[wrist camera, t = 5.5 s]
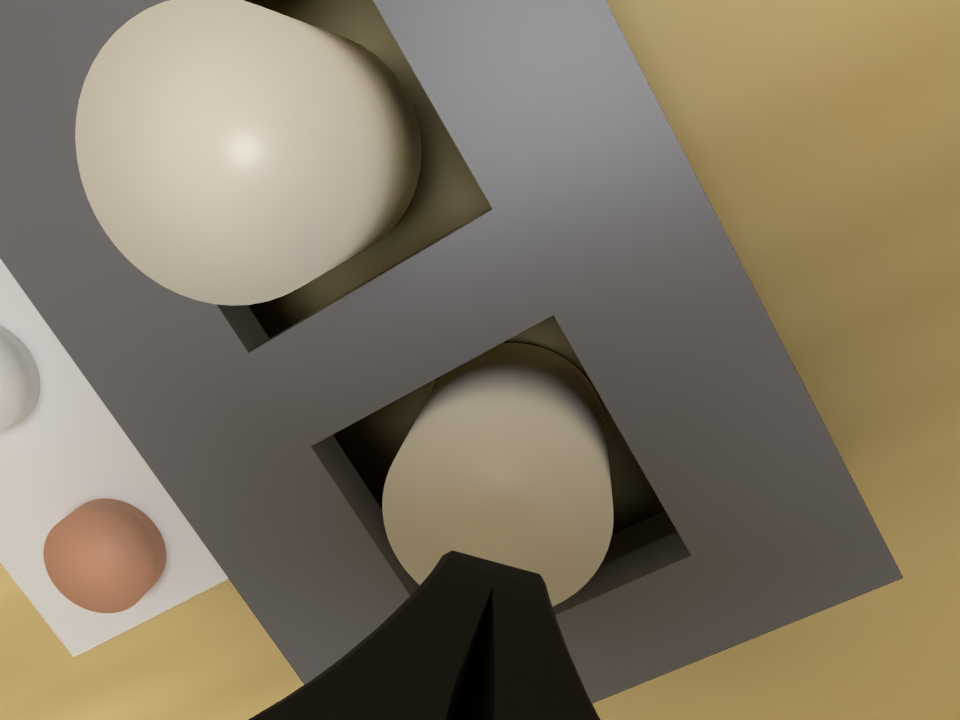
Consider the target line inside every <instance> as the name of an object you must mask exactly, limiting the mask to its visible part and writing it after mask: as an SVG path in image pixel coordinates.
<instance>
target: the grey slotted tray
mask: <svg viewBox="0 0 960 720" xmlns="http://www.w3.org/2000/svg"><path fill="white" fill-rule="evenodd" d="M164 1H168V0H0V259H1V260H2V262H3V263H4V264H5V266H6V267H7V269H8V270H9V271H10V273H11V274H12V276H13V277H14V278H15V280H16V281H17V283H18V284H19V285H20V287H21V288H22V290H23V291H24V292H25V294H26V295H27V297H28V298H29V299H30V301H31V302H32V304H33V305H34V306H35V308H36V309H37V311H38V312H39V313H40V315H41V316H42V318H43V319H44V320H45V322H46V323H47V325H48V326H49V327H50V329H51V330H52V332H53V333H54V334H55V336H56V337H57V339H58V340H59V341H60V343H61V344H62V346H63V347H64V348H65V350H66V351H67V353H68V354H69V355H70V357H71V358H72V360H73V361H74V362H75V364H76V365H77V367H78V368H79V369H80V371H81V372H82V374H83V375H84V376H85V378H86V379H87V381H88V382H89V383H90V385H91V386H92V388H93V389H94V390H95V392H96V393H97V395H98V396H99V397H100V399H101V400H102V402H103V403H104V404H105V406H106V407H107V409H108V410H109V411H110V413H111V414H112V416H113V417H114V419H115V420H116V421H117V423H118V424H119V426H120V427H121V428H122V430H123V431H124V433H125V434H126V435H127V437H128V438H129V440H130V441H131V442H132V444H133V445H134V447H135V448H136V449H137V451H138V452H139V454H140V455H141V456H142V458H143V459H144V461H145V462H146V463H147V465H148V466H149V468H150V469H151V470H152V472H153V473H154V475H155V476H156V477H157V479H158V480H159V482H160V483H161V484H162V486H163V487H164V489H165V490H166V491H167V493H168V494H169V496H170V497H171V498H172V500H173V501H174V503H175V504H176V505H177V507H178V508H179V510H180V511H181V512H182V514H183V515H184V517H185V518H186V519H187V521H188V522H189V524H190V525H191V526H192V528H193V529H194V531H195V532H196V533H197V535H198V536H199V538H200V539H201V540H202V542H203V543H204V545H205V546H206V547H207V549H208V550H209V552H210V553H211V554H212V556H213V557H214V559H215V560H216V561H217V563H218V564H219V566H220V567H221V568H222V570H223V571H224V573H225V574H226V575H227V577H228V578H229V580H230V581H231V582H232V584H233V585H234V587H235V588H236V589H237V591H238V592H239V594H240V595H241V596H242V598H243V599H244V601H245V602H246V603H247V605H248V606H249V608H250V609H251V611H252V612H253V613H254V615H255V616H256V618H257V619H258V620H259V622H260V623H261V625H262V626H263V627H264V629H265V630H266V632H267V633H268V634H269V636H270V637H271V639H272V640H273V641H274V643H275V644H276V646H277V647H278V648H279V650H280V651H281V653H282V654H283V655H284V657H285V658H286V660H287V661H288V662H289V664H290V665H291V667H292V668H293V669H294V671H295V672H296V674H297V675H298V676H299V678H300V679H301V681H302V682H303V683H304V685H305V684H307V683H308V682H310V681H311V680H312V679H314V678H315V677H317V676H318V675H319V674H321V673H322V672H324V671H325V670H326V669H328V668H329V667H330V666H332V665H333V664H334V663H336V662H337V661H338V660H340V659H341V658H342V657H343V656H344V655H346V654H347V653H348V652H349V651H350V650H352V649H353V648H354V647H355V646H356V645H358V644H359V643H360V642H361V641H362V640H364V639H365V638H366V637H367V636H368V635H370V634H371V633H372V632H373V631H374V630H376V629H377V628H378V627H379V626H380V625H381V624H382V623H383V622H384V621H385V620H386V619H387V618H388V617H389V616H390V615H391V614H392V613H394V612H395V611H396V610H397V609H398V608H399V607H400V606H401V605H402V604H403V603H404V602H405V601H406V600H407V599H408V598H409V597H410V596H411V595H412V593H413V592H414V591H415V590H416V589H417V588H418V587H419V586H420V585H419V584H418V583H417V582H416V581H415V580H414V579H413V578H412V577H411V576H410V575H409V574H408V573H407V571H406V570H405V569H404V567H403V566H402V565H401V563H400V562H399V560H398V558H397V557H396V555H395V553H394V552H393V550H392V547H391V545H390V542H389V540H388V538H387V534H386V530H385V526H384V521H383V513H382V509H381V508H380V506H379V505H378V503H377V502H376V500H375V499H374V497H373V496H372V494H371V493H370V491H369V490H368V488H367V486H366V485H365V483H364V482H363V480H362V479H361V477H360V476H359V474H358V473H357V471H356V470H355V468H354V467H353V465H352V464H351V462H350V461H349V459H348V457H347V456H346V454H345V453H344V451H343V450H342V448H341V447H340V445H339V444H338V442H337V441H336V439H335V438H334V436H333V434H335V433H336V432H338V431H340V430H342V429H344V428H346V427H348V426H349V425H351V424H353V423H355V422H357V421H359V420H360V419H362V418H364V417H366V416H368V415H370V414H372V413H373V412H375V411H377V410H379V409H381V408H383V407H385V406H386V405H388V404H390V403H392V402H394V401H396V400H397V399H399V398H401V397H403V396H405V395H407V394H409V393H410V392H412V391H414V390H416V389H418V388H420V387H422V386H423V385H425V384H427V383H429V382H431V381H433V380H434V379H436V378H438V377H440V376H442V375H444V374H446V373H447V372H449V371H451V370H453V369H455V368H457V367H458V366H460V365H462V364H464V363H466V362H468V361H470V360H471V359H473V358H475V357H477V356H479V355H481V354H483V353H484V352H486V351H488V350H490V349H492V348H494V347H495V346H497V345H499V344H501V343H503V342H505V341H507V340H508V339H510V338H512V337H514V336H516V335H518V334H519V333H521V332H523V331H525V330H527V329H529V328H531V327H532V326H534V325H536V324H538V323H540V322H542V321H544V320H545V319H547V318H549V317H551V316H553V315H554V317H555V319H556V321H557V322H558V324H559V326H560V328H561V329H562V331H563V333H564V335H565V336H566V338H567V340H568V342H569V343H570V345H571V347H572V349H573V350H574V352H575V354H576V355H577V357H578V359H579V361H580V362H581V364H582V366H583V368H584V369H585V371H586V373H587V375H588V376H589V378H590V380H591V382H592V383H593V385H594V387H595V389H596V390H597V392H598V394H599V396H600V397H601V399H602V401H603V403H604V404H605V406H606V408H607V410H608V411H609V413H610V415H611V416H612V418H613V420H614V422H615V423H616V425H617V427H618V429H619V430H620V432H621V434H622V436H623V437H624V439H625V441H626V443H627V444H628V446H629V448H630V450H631V451H632V453H633V455H634V457H635V458H636V460H637V462H638V464H639V465H640V467H641V469H642V471H643V472H644V474H645V476H646V478H647V479H648V481H649V483H650V484H651V486H652V488H653V490H654V491H655V493H656V495H657V497H658V498H659V500H660V502H661V504H662V505H663V507H664V509H665V511H663V512H661V513H659V514H656V515H654V516H652V517H650V518H648V519H646V520H643V521H641V522H639V523H637V524H635V525H632V526H630V527H628V528H626V529H624V530H621V531H619V532H617V533H615V534H613V535H612V537H611V540H610V544H609V548H608V550H607V553H606V555H605V557H604V560H603V561H602V563H601V565H600V566H599V568H598V570H597V571H596V573H595V574H594V575H593V576H592V577H591V579H590V580H589V581H588V582H587V583H586V584H585V585H584V586H583V587H582V588H581V589H580V590H579V591H578V592H576V593H575V594H573V595H572V596H571V597H569V598H568V599H566V600H565V601H563V602H561V603H559V604H557V605H555V606H553V610H554V613H555V616H556V619H557V622H558V625H559V627H560V630H561V633H562V636H563V638H564V641H565V643H566V646H567V649H568V651H569V654H570V656H571V658H572V660H573V663H574V665H575V667H576V670H577V672H578V674H579V676H580V679H581V681H582V683H583V686H584V688H585V690H586V692H587V694H588V696H589V698H590V701H591V703H594V702H597V701H599V700H602V699H604V698H607V697H609V696H612V695H614V694H617V693H619V692H622V691H624V690H626V689H629V688H631V687H634V686H636V685H639V684H641V683H644V682H646V681H649V680H651V679H654V678H656V677H659V676H661V675H664V674H666V673H669V672H671V671H674V670H676V669H679V668H681V667H684V666H686V665H688V664H691V663H693V662H696V661H698V660H701V659H703V658H706V657H708V656H711V655H713V654H716V653H718V652H721V651H723V650H726V649H728V648H731V647H733V646H736V645H738V644H741V643H743V642H746V641H748V640H750V639H753V638H755V637H758V636H760V635H763V634H765V633H768V632H770V631H773V630H775V629H778V628H780V627H783V626H785V625H788V624H790V623H793V622H795V621H798V620H800V619H803V618H805V617H808V616H810V615H812V614H815V613H817V612H820V611H822V610H825V609H827V608H830V607H832V606H835V605H837V604H840V603H842V602H845V601H847V600H850V599H852V598H855V597H857V596H860V595H862V594H865V593H867V592H870V591H872V590H874V589H877V588H879V587H882V586H884V585H887V584H889V583H892V582H894V581H897V580H899V579H902V578H903V576H902V574H901V573H900V571H899V569H898V567H897V565H896V563H895V561H894V559H893V557H892V555H891V553H890V551H889V549H888V547H887V545H886V543H885V541H884V540H883V538H882V536H881V534H880V532H879V530H878V528H877V526H876V524H875V522H874V520H873V518H872V516H871V514H870V512H869V510H868V508H867V507H866V505H865V503H864V501H863V499H862V497H861V495H860V493H859V491H858V489H857V487H856V485H855V483H854V481H853V479H852V477H851V475H850V474H849V472H848V470H847V468H846V466H845V464H844V462H843V460H842V458H841V456H840V454H839V452H838V450H837V448H836V446H835V444H834V442H833V441H832V439H831V437H830V435H829V433H828V431H827V429H826V427H825V425H824V423H823V421H822V419H821V417H820V415H819V413H818V411H817V409H816V408H815V406H814V404H813V402H812V400H811V398H810V396H809V394H808V392H807V390H806V388H805V386H804V384H803V382H802V380H801V378H800V376H799V375H798V373H797V371H796V369H795V367H794V365H793V363H792V361H791V359H790V357H789V355H788V353H787V351H786V349H785V347H784V345H783V343H782V342H781V340H780V338H779V336H778V334H777V332H776V330H775V328H774V326H773V324H772V322H771V320H770V318H769V316H768V314H767V312H766V310H765V309H764V307H763V305H762V303H761V301H760V299H759V297H758V295H757V293H756V291H755V289H754V287H753V285H752V283H751V281H750V279H749V277H748V276H747V274H746V272H745V270H744V268H743V266H742V264H741V262H740V260H739V258H738V256H737V254H736V252H735V250H734V248H733V246H732V244H731V243H730V241H729V239H728V237H727V235H726V233H725V231H724V229H723V227H722V225H721V223H720V221H719V219H718V217H717V215H716V213H715V211H714V210H713V208H712V206H711V204H710V202H709V200H708V198H707V196H706V194H705V192H704V190H703V188H702V186H701V184H700V182H699V180H698V178H697V177H696V175H695V173H694V171H693V169H692V167H691V165H690V163H689V161H688V159H687V157H686V155H685V153H684V151H683V149H682V147H681V145H680V144H679V142H678V140H677V138H676V136H675V134H674V132H673V130H672V128H671V126H670V124H669V122H668V120H667V118H666V116H665V114H664V113H663V111H662V109H661V107H660V105H659V103H658V101H657V99H656V97H655V95H654V93H653V91H652V89H651V87H650V85H649V83H648V81H647V80H646V78H645V76H644V74H643V72H642V70H641V68H640V66H639V64H638V62H637V60H636V58H635V56H634V54H633V52H632V50H631V48H630V47H629V45H628V43H627V41H626V39H625V37H624V35H623V33H622V31H621V29H620V27H619V25H618V23H617V21H616V19H615V17H614V15H613V14H612V12H611V10H610V8H609V6H608V4H607V2H606V0H373V2H374V3H375V5H376V7H377V9H378V10H379V12H380V14H381V16H382V17H383V19H384V21H385V23H386V24H387V26H388V28H389V30H390V31H391V33H392V35H393V37H394V38H395V40H396V42H397V43H398V45H399V47H400V49H401V50H402V52H403V54H404V56H405V57H406V59H407V61H408V63H409V64H410V66H411V68H412V70H413V71H414V73H415V75H416V77H417V78H418V80H419V82H420V84H421V85H422V87H423V89H424V91H425V92H426V94H427V96H428V98H429V99H430V101H431V103H432V104H433V106H434V108H435V110H436V111H437V113H438V115H439V117H440V118H441V120H442V122H443V124H444V125H445V127H446V129H447V131H448V132H449V134H450V136H451V138H452V139H453V141H454V143H455V145H456V146H457V148H458V150H459V152H460V153H461V155H462V157H463V159H464V160H465V162H466V164H467V166H468V167H469V169H470V171H471V172H472V174H473V176H474V178H475V179H476V181H477V183H478V185H479V186H480V188H481V190H482V192H483V193H484V195H485V197H486V199H487V200H488V202H489V204H490V206H491V207H492V208H490V209H488V210H487V211H485V212H483V213H481V214H480V215H478V216H476V217H475V218H473V219H471V220H470V221H468V222H466V223H464V224H463V225H461V226H459V227H458V228H456V229H454V230H453V231H451V232H449V233H448V234H446V235H444V236H442V237H441V238H439V239H437V240H436V241H434V242H432V243H431V244H429V245H427V246H426V247H424V248H422V249H420V250H419V251H417V252H415V253H414V254H412V255H410V256H409V257H407V258H405V259H403V260H402V261H400V262H398V263H397V264H395V265H393V266H392V267H390V268H388V269H387V270H385V271H383V272H381V273H380V274H378V275H376V276H375V277H373V278H371V279H370V280H368V281H366V282H364V283H363V284H361V285H359V286H358V287H356V288H354V289H353V290H351V291H349V292H348V293H346V294H344V295H342V296H341V297H339V298H337V299H336V300H334V301H332V302H331V303H329V304H327V305H326V306H324V307H322V308H320V309H319V310H317V311H315V312H314V313H312V314H310V315H309V316H307V317H305V318H303V319H302V320H300V321H298V322H297V323H295V324H293V325H292V326H290V327H288V328H287V329H285V330H283V331H281V332H280V333H278V334H276V335H275V336H273V337H271V338H269V337H268V335H267V334H266V332H265V331H264V329H263V328H262V326H261V325H260V323H259V322H258V320H257V319H256V317H255V316H254V314H253V313H252V311H251V309H250V308H249V306H248V305H236V306H230V305H218V304H211V303H206V302H202V301H197V300H194V299H191V298H188V297H185V296H183V295H180V294H178V293H175V292H173V291H171V290H169V289H167V288H165V287H163V286H162V285H160V284H158V283H157V282H155V281H154V280H152V279H151V278H149V277H148V276H146V275H145V274H144V273H143V272H141V271H140V270H139V269H138V268H137V267H135V266H134V265H133V264H132V263H131V262H130V261H129V260H128V259H127V258H126V257H125V256H124V255H123V254H122V253H121V252H120V251H119V250H118V249H117V247H116V246H115V245H114V243H113V242H112V241H111V239H110V238H109V237H108V236H107V234H106V233H105V231H104V229H103V228H102V226H101V224H100V223H99V221H98V219H97V218H96V216H95V214H94V212H93V210H92V207H91V205H90V203H89V201H88V199H87V196H86V193H85V190H84V187H83V184H82V181H81V177H80V172H79V167H78V162H77V155H76V144H75V128H76V115H77V108H78V102H79V98H80V94H81V91H82V87H83V84H84V81H85V79H86V76H87V74H88V72H89V70H90V67H91V65H92V63H93V61H94V60H95V58H96V57H97V55H98V53H99V52H100V50H101V49H102V47H103V46H104V45H105V44H106V42H107V41H108V40H109V39H110V38H111V36H112V35H113V34H114V33H115V32H116V31H117V30H118V29H119V28H121V27H122V26H123V25H124V24H125V23H126V22H127V21H129V20H130V19H131V18H133V17H135V16H136V15H138V14H139V13H141V12H142V11H144V10H146V9H148V8H150V7H152V6H155V5H157V4H159V3H162V2H164ZM244 1H247V0H244Z"/></svg>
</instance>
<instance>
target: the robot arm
mask: <svg viewBox="0 0 960 720" xmlns="http://www.w3.org/2000/svg"><path fill="white" fill-rule="evenodd" d="M249 720H600V719H599V717H598V715H597V713H596V711H595V709H594V707H593V705H592V703H591V701H590V698H589V696H588V694H587V692H586V690H585V688H584V686H583V683H582V681H581V679H580V676H579V674H578V672H577V670H576V667H575V665H574V663H573V660H572V658H571V656H570V654H569V651H568V649H567V646H566V643H565V641H564V638H563V636H562V633H561V630H560V627H559V625H558V622H557V619H556V616H555V613H554V610H553V607H552V604H551V601H550V598H549V594H548V591H547V587H546V583H545V582H544V580H543V578H542V576H541V575H540V574H538V573H534V572H530V571H527V570H523V569H519V568H516V567H512V566H508V565H505V564H501V563H497V562H493V561H490V560H486V559H482V558H479V557H475V556H471V555H468V554H464V553H460V552H457V551H453V550H452V551H450V552H448V553H446V554H444V555H442V556H441V558H440V560H439V562H438V563H437V565H436V566H435V567H434V569H433V570H432V571H431V573H430V574H429V575H428V576H427V578H426V579H425V580H424V581H423V582H422V584H421V585H420V586H419V587H418V588H417V589H416V590H415V591H414V592H413V593H412V595H411V596H410V597H409V598H408V599H407V600H406V601H405V602H404V603H403V604H402V605H401V606H400V607H399V608H398V609H397V610H396V611H395V612H394V613H392V614H391V615H390V616H389V617H388V618H387V619H386V620H385V621H384V622H383V623H382V624H381V625H380V626H379V627H378V628H377V629H376V630H374V631H373V632H372V633H371V634H370V635H368V636H367V637H366V638H365V639H364V640H362V641H361V642H360V643H359V644H358V645H356V646H355V647H354V648H353V649H352V650H350V651H349V652H348V653H347V654H346V655H344V656H343V657H342V658H341V659H340V660H338V661H337V662H336V663H334V664H333V665H332V666H330V667H329V668H328V669H326V670H325V671H324V672H322V673H321V674H319V675H318V676H317V677H315V678H314V679H312V680H311V681H310V682H308V683H307V684H305V685H304V686H302V687H301V688H299V689H298V690H296V691H295V692H293V693H292V694H290V695H289V696H287V697H286V698H284V699H282V700H281V701H279V702H277V703H276V704H274V705H272V706H271V707H269V708H267V709H266V710H264V711H262V712H260V713H259V714H257V715H255V716H254V717H252V718H250V719H249Z"/></svg>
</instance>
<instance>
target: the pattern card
mask: <svg viewBox="0 0 960 720" xmlns="http://www.w3.org/2000/svg"><path fill="white" fill-rule="evenodd" d="M0 563H1V564H2V565H3V567H4V568H5V569H6V571H7V572H8V573H9V574H10V576H11V577H12V578H13V580H14V581H15V582H16V584H17V585H18V586H19V587H20V589H21V590H22V591H23V593H24V594H25V595H26V596H27V598H28V599H29V600H30V602H31V603H32V604H33V605H34V607H35V608H36V609H37V611H38V612H39V613H40V614H41V616H42V617H43V618H44V620H45V621H46V622H47V623H48V625H49V626H50V627H51V629H52V630H53V631H54V632H55V634H56V635H57V636H58V638H59V639H60V640H61V641H62V643H63V644H64V645H65V647H66V648H67V649H68V650H69V652H70V653H71V654H72V656H73V657H75V656H77V655H79V654H81V653H83V652H85V651H87V650H89V649H91V648H93V647H95V646H97V645H99V644H101V643H103V642H105V641H107V640H109V639H111V638H113V637H115V636H117V635H119V634H121V633H123V632H125V631H127V630H129V629H131V628H132V627H134V626H136V625H138V624H140V623H142V622H144V621H146V620H148V619H150V618H152V617H154V616H156V615H158V614H160V613H162V612H164V611H166V610H168V609H170V608H172V607H174V606H176V605H178V604H180V603H182V602H184V601H186V600H188V599H190V598H192V597H194V596H196V595H198V594H200V593H201V592H203V591H205V590H207V589H209V588H211V587H213V586H215V585H217V584H219V583H221V582H223V581H225V580H227V579H229V578H228V577H227V575H226V574H225V573H224V571H223V570H222V568H221V567H220V566H219V564H218V563H217V561H216V560H215V559H214V557H213V556H212V554H211V553H210V552H209V550H208V549H207V547H206V546H205V545H204V543H203V542H202V540H201V539H200V538H199V536H198V535H197V533H196V532H195V531H194V529H193V528H192V526H191V525H190V524H189V522H188V521H187V519H186V518H185V517H184V515H183V514H182V512H181V511H180V510H179V508H178V507H177V505H176V504H175V503H174V501H173V500H172V498H171V497H170V496H169V494H168V493H167V491H166V490H165V489H164V487H163V486H162V484H161V483H160V482H159V480H158V479H157V477H156V476H155V475H154V473H153V472H152V470H151V469H150V468H149V466H148V465H147V463H146V462H145V461H144V459H143V458H142V456H141V455H140V454H139V452H138V451H137V449H136V448H135V447H134V445H133V444H132V442H131V441H130V440H129V438H128V437H127V435H126V434H125V433H124V431H123V430H122V428H121V427H120V426H119V424H118V423H117V421H116V420H115V419H114V417H113V416H112V414H111V413H110V411H109V410H108V409H107V407H106V406H105V404H104V403H103V402H102V400H101V399H100V397H99V396H98V395H97V393H96V392H95V390H94V389H93V388H92V386H91V385H90V383H89V382H88V381H87V379H86V378H85V376H84V375H83V374H82V372H81V371H80V369H79V368H78V367H77V365H76V364H75V362H74V361H73V360H72V358H71V357H70V355H69V354H68V353H67V351H66V350H65V348H64V347H63V346H62V344H61V343H60V341H59V340H58V339H57V337H56V336H55V334H54V333H53V332H52V330H51V329H50V327H49V326H48V325H47V323H46V322H45V320H44V319H43V318H42V316H41V315H40V313H39V312H38V311H37V309H36V308H35V306H34V305H33V304H32V302H31V301H30V299H29V298H28V297H27V295H26V294H25V292H24V291H23V290H22V288H21V287H20V285H19V284H18V283H17V281H16V280H15V278H14V277H13V276H12V274H11V273H10V271H9V270H8V269H7V267H6V266H5V264H4V263H3V262H2V260H1V259H0Z"/></svg>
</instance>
